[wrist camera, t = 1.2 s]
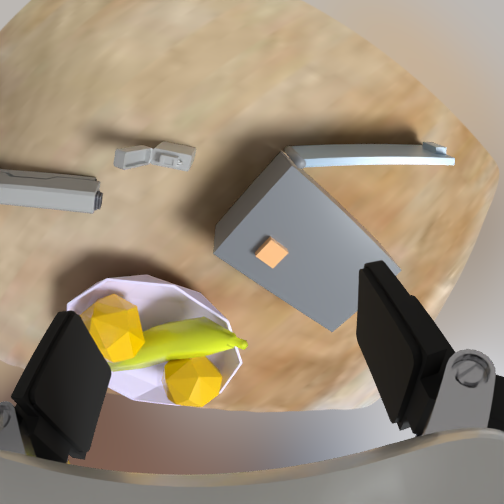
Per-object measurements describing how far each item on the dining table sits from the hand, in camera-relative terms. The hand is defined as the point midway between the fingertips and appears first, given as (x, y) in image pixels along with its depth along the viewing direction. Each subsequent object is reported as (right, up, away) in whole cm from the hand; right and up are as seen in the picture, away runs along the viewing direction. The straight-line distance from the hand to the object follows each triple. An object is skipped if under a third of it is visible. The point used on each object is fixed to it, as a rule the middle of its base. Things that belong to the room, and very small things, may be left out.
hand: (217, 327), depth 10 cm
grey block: (+8, +5, +30) cm, 32 cm away
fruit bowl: (-13, -9, +37) cm, 40 cm away
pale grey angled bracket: (-9, +14, +24) cm, 29 cm away
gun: (-28, +13, +24) cm, 39 cm away
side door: (+14, +15, +25) cm, 32 cm away
